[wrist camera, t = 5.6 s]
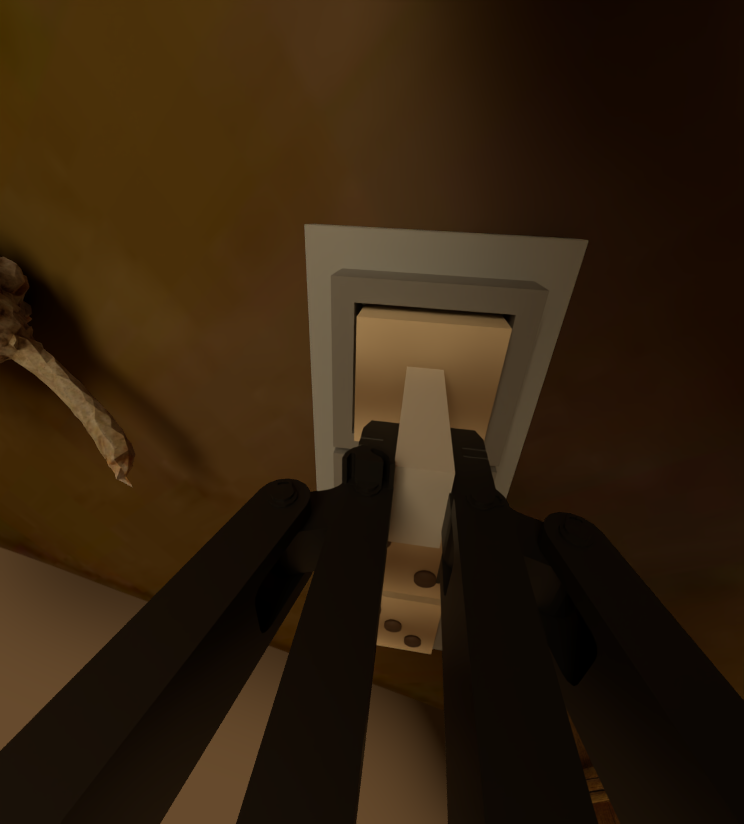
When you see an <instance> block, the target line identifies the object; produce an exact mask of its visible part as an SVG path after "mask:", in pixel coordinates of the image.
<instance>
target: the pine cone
mask: <svg viewBox="0 0 744 824" xmlns="http://www.w3.org/2000/svg"><path fill="white" fill-rule="evenodd" d="M28 289H29V283H28V280H27V276H25V275H23V272H22V269H21V268H20V267H19V266H18V265H17V264H16V263H15V262H13V261H11V260H9V259H7V258H5V257H0V363H2V362H4V361H5V360H10V359H12V360H14V361H15V362H17V363H18V364H20V365H21V366H23V367H24V368H26V369H27V370H29V371H30V372H32V373H33V374H35V375H36V376H37V377H38V378H39V379H40V380H41V381H43V382H44V383H45V384H46V385H47V386H48V387H49V388H50V389H52V390H53V391H54V392H55V393H56V394H57V395H58V397H59V398H60V399H61V400H62V401H63V402H64V403H65V404H66V405H67V406H68V407H69V408H70V409H71V410H72V412H73V413H74V415H75V416H76V417H77V418H78V419H79V420H80V421H81V422H82V423H83V425H84V427H85V428H86V430H87V431H88V433H89V434H90V435H91V437H92V438H93V439H94V441H95V443H96V445H97V447H98V449H99V451H100V453H101V454H102V455H103V457H104V458H105V459H106V461H107V463H108V466H109V467H110V468H112V470H113V472H114V473H115V476H116V480H120V481H122V482H124V483H126V484H127V485H129V486H131V487H132V485H131V484H130V482H129V481H128V479H127V477H126V475H127V474H128V473H129V471H130V470H131V468H132V467H133V461H134V457H135V452H134V449H133V447H132V444H131V443H130V441H129V440H128V439H127V437H126V435H125V433H124V431H123V429H122V428H121V427H120V426H119V425H118V424H117V422H116V421H115V420H114V418H113V417H112V415H111V414H110V413H109V412H108V411H107V410H106V409H105V408H104V407H103V406H102V405H101V404H100V403H99V402H98V401H97V400H96V399H95V398H94V397H93V396H92V395H91V394H90V393H89V391H88V390H87V389H86V388H85V387H84V386H83V384H82V383H81V382H80V381H79V380H78V379H76V378H75V377H74V376H73V375H72V374H70V373H69V371H68V370H67V369H66V368H65V367H64V366H63V365H62V364H61V363H60V362H59V361H58V360H56V359H55V358H54V357H53V356H52V355H51V354H50V353H48V352H47V351H46V350H45V349H43V345H42V343H40V342H37V341H35V339H34V338H33V336H32V335H33V329H32V326H29V325H28V324H27V323H28V322H29V321H31V320H32V318H31V317H29V315H31V314H32V309H31V305H29V304H28V303H26V302H24V301H23V299H24V296H25V294H26V292H27V290H28Z"/></svg>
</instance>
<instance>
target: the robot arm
mask: <svg viewBox="0 0 744 824" xmlns="http://www.w3.org/2000/svg"><path fill="white" fill-rule="evenodd" d="M441 538H442V556H441V560H440V565H439V569H438V574H437V579H436V584H440V598H441V628H442V658H443V688H444V716H445V717H444V718H445V747H446V777H447V807H448V824H598V821H597V817H596V814H595V810H594V807H593V803H592V800H591V796H590V793H589V789H588V785H587V782H586V778H585V775H584V771H583V768H582V764H581V760H580V757H579V753H578V750H577V746H576V743H575V739H574V735H573V732H572V728H571V725H570V721H569V718H568V714H567V711H568V713H569V716H570V718H571V720H572V722H573V724H574V726H575V728H576V730H577V733H578V735H579V737H580V739H581V741H582V743H583V745H584V747H585V750H586V752H587V754H588V756H589V758H590V760H591V762H592V764H593V766H594V769H595V771H596V773H597V775H598V777H599V779H600V781H601V783H602V786H603V788H604V790H605V792H606V794H607V796H608V798H609V800H610V803H611V805H612V807H613V809H614V811H615V813H616V815H617V817H618V820H619V822H620V824H744V700H743V699H742V698H741V697H740V696H739V694H738V693H737V692H736V691H735V690H734V688H733V687H732V686H731V685H730V684H729V682H728V681H727V680H726V679H725V678H724V677H723V675H722V674H721V673H720V672H719V671H718V669H717V668H716V667H715V666H714V665H713V663H712V662H711V661H710V660H709V659H708V657H707V656H706V655H705V654H704V653H703V652H702V650H701V649H700V648H699V647H698V646H697V644H696V643H695V642H694V641H693V640H692V638H691V637H690V636H689V635H688V634H687V633H686V631H685V630H684V629H683V628H682V627H681V625H680V624H679V623H678V622H677V621H676V619H675V618H674V617H673V616H672V615H671V613H670V612H669V611H668V610H667V609H666V608H665V606H664V605H663V604H662V603H661V602H660V600H659V599H658V598H657V597H656V596H655V594H654V593H653V592H652V591H651V590H650V589H649V587H648V586H647V585H646V584H645V583H644V581H643V580H642V579H641V578H640V577H639V575H638V574H637V573H636V572H635V571H634V570H633V568H632V567H631V566H630V565H629V564H628V562H627V561H626V560H625V559H624V558H623V556H622V555H621V554H620V553H619V552H618V550H617V549H616V548H615V547H614V546H613V545H612V543H611V542H610V541H609V540H608V539H607V537H606V536H605V535H604V534H603V533H602V532H601V531H600V530H599V529H598V528H597V527H596V526H595V525H594V524H592V523H591V522H589V521H587V520H585V519H584V518H582V517H579V516H576V515H573V514H571V513H562V512H557V513H553V514H550V515H549V516H548V517H547V518H546V519H545V520H544V522H542V521H539V520H537V519H534V518H531V517H528V516H525V515H523V514H521V513H519V512H516V511H515V510H513V509H512V508H510V507H509V504H508V502H507V500H506V498H505V497H504V496H503V495H502V494H501V493H500V492H499V491H498V490H496V487H495V484H494V480H493V476H492V472H491V468H490V464H489V460H488V456H487V452H486V448H485V444H484V440H483V439H482V438H481V437H480V435H479V434H478V433H477V432H476V431H475V430H466V429H457V428H450V422H449V413H448V404H447V395H446V386H445V377H444V370H440V369H429V368H419V367H408V366H407V370H406V378H405V386H404V393H403V401H402V409H401V416H400V423H392V422H383V421H374V420H371V421H370V422H369V423H368V424H367V425H366V426H364V427H363V430H362V434H361V438H360V441H359V444H358V446H357V447H353V448H352V449H350V450H348V451H347V452H346V453H345V454H344V455H343V457H342V484H340V485H339V486H337V487H334V488H331V489H327V490H321V491H313V492H310V490H309V488H308V487H307V486H306V484H304V483H302V482H300V481H298V480H294V479H280V480H276V481H273V482H270V483H268V484H266V485H265V486H264V487H262V488H261V489H260V490H259V491H258V492H257V493H256V494H255V495H254V496H253V497H252V498H251V499H250V500H249V501H248V502H247V503H246V504H245V505H244V506H243V507H242V508H241V509H240V510H239V511H238V512H237V513H236V514H235V515H234V516H233V517H232V518H231V519H230V520H229V521H228V522H227V523H226V524H225V525H224V526H223V527H222V528H221V529H220V530H219V531H218V532H217V533H216V534H215V535H214V536H213V537H212V538H211V539H210V540H209V541H208V542H207V543H206V544H205V545H204V546H203V547H202V548H201V549H200V550H199V551H198V552H197V553H196V554H195V555H194V556H193V557H192V558H191V559H190V560H189V561H188V562H187V563H186V564H185V565H184V566H183V567H182V568H181V569H180V570H179V571H178V572H177V573H176V574H175V575H174V576H173V577H172V578H171V579H170V580H169V581H168V583H167V584H166V585H165V586H164V587H163V588H162V589H161V590H160V591H159V592H158V593H157V594H156V595H155V596H154V597H153V598H152V599H151V600H150V601H149V602H148V603H147V604H146V605H145V606H144V607H143V608H142V609H141V610H140V611H139V612H138V613H137V614H136V615H135V616H134V617H133V618H132V619H131V620H130V621H129V622H128V623H127V624H126V625H125V626H124V627H123V628H122V629H121V630H120V631H119V632H118V633H117V634H116V635H115V636H114V637H113V638H112V639H111V640H110V641H109V642H108V643H107V644H106V645H105V646H104V647H103V648H102V649H101V650H100V651H99V652H98V653H97V654H96V655H95V656H94V657H93V658H92V659H91V660H90V661H89V662H88V663H87V664H86V665H85V666H84V667H83V668H82V669H81V670H80V671H79V672H78V673H77V674H76V675H75V676H74V678H72V679H71V680H70V681H69V682H68V683H67V684H66V685H65V686H64V687H63V688H62V690H60V691H59V692H58V693H57V694H56V695H55V697H53V698H52V700H50V702H48V703H47V704H46V705H45V706H44V707H43V708H42V709H41V710H40V711H39V713H37V715H35V717H34V718H33V719H32V720H31V721H30V722H29V723H28V724H27V725H26V726H25V727H24V728H23V729H22V730H21V731H20V732H19V733H18V734H17V735H16V736H15V737H14V738H13V739H12V740H11V741H10V742H9V743H8V744H7V745H6V746H5V747H4V748H3V749H2V750H1V751H0V824H160V823H161V821H162V820H163V818H164V817H165V815H166V813H167V812H168V810H169V808H170V807H171V805H172V803H173V802H174V800H175V798H176V797H177V795H178V794H179V792H180V790H181V789H182V787H183V785H184V784H185V782H186V780H187V779H188V777H189V775H190V774H191V772H192V770H193V769H194V767H195V765H196V764H197V762H198V760H199V759H200V757H201V756H202V754H203V752H204V751H205V749H206V747H207V746H208V744H209V743H210V741H211V739H212V737H213V736H214V734H215V733H216V731H217V729H218V728H219V726H220V724H221V723H222V721H223V720H224V718H225V716H226V714H227V713H228V711H229V710H230V708H231V706H232V705H233V703H234V701H235V700H236V698H237V697H238V695H239V693H240V692H241V690H242V688H243V686H244V685H245V683H246V682H247V680H248V678H249V677H250V675H251V673H252V672H253V670H254V669H255V667H256V665H257V663H258V662H259V660H260V659H261V657H262V655H263V654H264V652H265V650H266V648H267V647H268V646H269V644H270V642H271V641H272V639H273V637H274V636H275V634H276V632H277V631H278V629H279V627H280V626H281V624H282V623H283V621H284V619H285V618H286V616H287V614H288V613H289V611H290V609H291V608H292V606H293V604H294V603H295V601H296V600H297V598H298V596H299V595H300V593H301V591H302V590H303V588H304V586H305V585H306V583H307V581H308V580H309V578H310V577H311V575H312V572H313V571H315V572H314V575H313V578H312V581H311V584H310V588H309V591H308V594H307V597H306V601H305V604H304V607H303V610H302V613H301V617H300V620H299V623H298V626H297V629H296V633H295V636H294V639H293V642H292V646H291V649H290V652H289V655H288V659H287V662H286V665H285V668H284V671H283V675H282V678H281V681H280V684H279V688H278V691H277V694H276V697H275V700H274V703H273V707H272V710H271V713H270V716H269V720H268V723H267V726H266V729H265V732H264V736H263V739H262V742H261V745H260V749H259V752H258V755H257V758H256V761H255V765H254V768H253V771H252V774H251V777H250V781H249V784H248V787H247V790H246V793H245V797H244V800H243V803H242V806H241V810H240V813H239V816H238V819H237V822H236V824H356V819H357V811H358V802H359V793H360V784H361V776H362V767H363V758H364V750H365V741H366V732H367V723H368V714H369V705H370V697H371V688H372V679H373V671H374V662H375V653H376V644H377V636H378V627H379V618H380V609H381V601H382V592H383V583H384V574H385V566H386V557H387V546H388V541H390V542H397V543H404V544H411V545H418V546H425V547H432V548H440V543H441ZM566 709H567V710H566Z"/></svg>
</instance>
